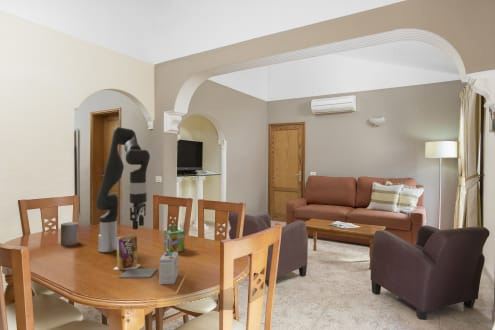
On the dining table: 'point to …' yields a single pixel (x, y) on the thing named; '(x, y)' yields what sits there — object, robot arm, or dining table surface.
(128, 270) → the slate coaster
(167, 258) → the light bulb box
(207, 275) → the dining table surface
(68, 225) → the pillar candle
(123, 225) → the dining table surface
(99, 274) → the dining table surface
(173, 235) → the chalk box
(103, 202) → the robot arm
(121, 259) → the candy box
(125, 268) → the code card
